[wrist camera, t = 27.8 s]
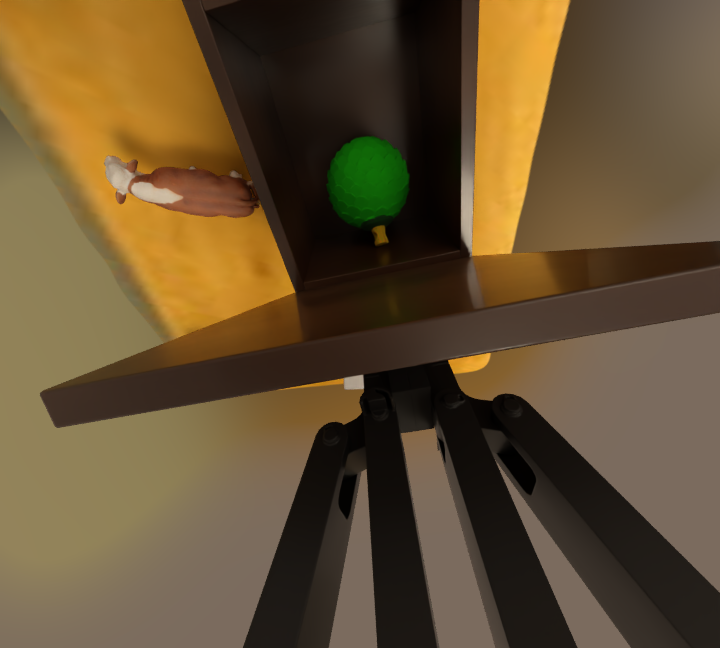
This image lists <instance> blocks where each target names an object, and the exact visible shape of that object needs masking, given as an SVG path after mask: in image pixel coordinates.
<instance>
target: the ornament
mask: <svg viewBox="0 0 720 648" xmlns="http://www.w3.org/2000/svg"><path fill="white" fill-rule="evenodd" d="M327 177H328V183H329V184H326V186H327V191H328V193H329V195H330V197H328V198H329V201H330V202H331V204H332V205H333V209H334V210H335V211H336V212H337V214H338V215H339V217H340V218H341V219H343V220H344V221H345V222H347V223H348V224H350V225H352V226H355V227H358V228H361V229H362V230H364V231H372V233H373V235H374V237H375V246H382V245H385V244H387V243H388V239H387V236H386V234H385V227H387V226H388V225H389V224H391V222H392V221H393V218H394V217H396V216H397V215H398V214H399V213H400V210H401V208H402V207H403V206H404V204H405V203H406V202H405V201H406V198H407V195H408V193H409V190H410V188H408V187H409V185H408V184H409V178H410V174H407V165H406V161H405V160H402V157H401V153H400V152H399V150H398V149H397V148H395V149H394V148H393V146H392V144H390V143H389V142H388V141H387V140H385V139H384V140H383V141H382V140H381V139H380V138H377V137H374V136H371V137H369V136H366V137H359V138H355V139H353V140H351V142H350V143H348V142H347V143H346V144H344V145H343V147H342V148H341V150H340V151H338V152H337V153H336V156H335V158H333V159H332V161H331V165H330V170H328V174H327Z"/></svg>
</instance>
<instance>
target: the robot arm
mask: <svg viewBox="0 0 720 648" xmlns="http://www.w3.org/2000/svg"><path fill="white" fill-rule="evenodd" d="M363 382H364V393H363V394H362V396H361V397H360V402H359V403H360V406H361V409H362V413H361V415H360V416H358V417H357V418H356V419H355V420H353V421H351V422H349V423H347V424H345V425H343V424H342V423H338V422H331V423H328V424H326V425H324V426H323V427H322V428H321V429H320V430H319V431H318V433H317V435H316V437H315V440H314V443H313V446H312V448H311V451H310V454H309V457H308V460H307V463H306V466H305V469H304V472H303V475H302V477H301V481H300V484H299V486H298V489H297V492H296V495H295V498H294V501H293V504H292V507H291V509H290V512H289V515H288V518H287V521H286V524H285V527H284V530H283V533H282V536H281V539H280V542H279V544H278V547H277V550H276V553H275V556H274V559H273V562H272V565H271V568H270V571H269V574H268V576H267V579H266V582H265V585H264V588H263V591H262V594H261V597H260V600H259V603H258V605H257V608H256V611H255V614H254V617H253V620H252V623H251V626H250V629H249V632H248V635H247V637H246V640H245V643H244V646H243V648H328V647H329V643H330V637H331V632H332V627H333V621H334V616H335V610H336V605H337V600H338V595H339V589H340V583H341V578H342V572H343V567H344V562H345V557H346V552H347V546H348V541H349V535H350V530H351V524H352V519H353V514H354V508H355V503H356V498H357V493H358V487H359V482H360V476H361V472H362V471H363V470H365V469H367V480H368V481H367V482H368V498H369V514H370V531H371V547H372V564H373V581H374V598H375V615H376V632H377V648H439V644H438V638H437V632H436V627H435V621H434V616H433V610H432V604H431V599H430V593H429V587H428V582H427V576H426V571H425V565H424V560H423V554H422V548H421V542H420V537H419V532H418V526H417V520H416V514H415V509H414V503H413V498H412V492H411V486H410V481H409V475H408V470H407V464H406V459H405V453H404V447H403V442H402V438H401V433H406V432H413V431H419V430H426V429H432V428H434V427H435V430H436V433H437V445H438V450H440V453H441V456H442V460H443V463H444V467H445V470H446V474H447V477H448V481H449V485H450V488H451V491H452V495H453V499H454V502H455V506H456V509H457V513H458V517H459V520H460V523H461V527H462V531H463V534H464V537H465V541H466V545H467V548H468V552H469V555H470V559H471V563H472V566H473V570H474V573H475V577H476V580H477V584H478V587H479V590H480V594H481V598H482V601H483V605H484V609H485V612H486V616H487V619H488V623H489V626H490V630H491V633H492V637H493V641H494V644H495V648H577V646H576V643H575V641H574V639H573V637H572V634H571V632H570V630H569V628H568V625H567V623H566V621H565V618H564V616H563V614H562V612H561V609H560V607H559V605H558V603H557V600H556V598H555V596H554V593H553V591H552V589H551V586H550V584H549V582H548V580H547V577H546V575H545V573H544V570H543V568H542V566H541V564H540V561H539V559H538V557H537V555H536V553H535V550H534V548H533V546H532V543H531V541H530V539H529V536H528V534H527V532H526V529H525V527H524V525H523V523H522V520H521V518H520V516H519V514H518V512H517V509H516V507H515V505H514V502H513V500H512V498H511V495H510V493H509V491H508V488H507V486H506V484H505V482H504V479H503V477H502V475H501V473H500V470H499V468H498V466H497V464H496V461H497V463H498V464H499V465H500V467H501V468H502V470H503V471H504V472H505V474H506V475H507V477H508V478H509V479H510V481H511V482H512V483H513V485H514V486H515V487H516V489H517V490H518V492H519V493H520V494H521V496H522V497H523V498H524V500H525V501H526V503H527V504H528V506H529V507H530V508H531V510H532V511H533V513H534V514H535V515H536V517H537V518H538V519H539V521H540V522H541V524H542V525H543V526H544V528H545V529H546V530H547V532H548V533H549V535H550V536H551V537H552V539H553V540H554V541H555V543H556V544H557V546H558V547H559V548H560V550H561V551H562V553H563V554H564V555H565V557H566V558H567V560H568V561H569V562H570V564H571V565H572V567H573V568H574V569H575V571H576V572H577V573H578V575H579V576H580V577H581V579H582V580H583V582H584V583H585V585H586V586H587V587H588V589H589V590H590V591H591V593H592V594H593V596H594V597H595V598H596V600H597V601H598V603H599V604H600V605H601V607H602V608H603V609H604V611H605V612H606V614H607V615H608V616H609V618H610V619H611V620H612V622H613V623H614V625H615V626H616V627H617V629H618V630H619V632H620V633H621V634H622V636H623V637H624V639H625V640H626V641H627V643H628V644H629V645H630V647H631V648H720V593H719V592H718V591H717V590H716V589H715V588H714V587H713V586H712V585H711V584H710V583H709V582H708V581H707V580H706V579H705V578H704V577H703V576H702V575H701V574H700V573H699V572H698V571H697V570H696V569H695V568H694V567H693V566H692V565H691V564H690V563H689V562H688V561H687V560H686V559H685V558H684V557H683V556H682V555H681V554H680V553H679V552H678V551H677V550H676V549H675V548H674V547H673V546H672V545H671V544H670V543H669V542H668V541H667V540H666V539H665V538H664V537H663V536H662V535H661V534H660V533H659V532H658V531H657V530H656V529H655V528H654V527H653V526H652V525H651V524H650V523H649V522H648V521H647V520H646V519H645V518H644V517H643V516H642V515H641V514H640V513H639V512H638V511H637V510H635V508H634V507H633V506H632V505H631V504H630V503H629V502H628V501H627V500H626V499H625V498H624V497H622V495H621V494H620V493H619V492H617V490H616V489H614V487H612V486H611V485H610V484H609V483H608V482H607V481H606V480H605V479H604V478H603V477H602V476H601V475H600V474H599V473H598V472H597V471H596V470H595V469H594V468H593V467H592V466H591V465H590V464H589V463H588V462H587V461H586V460H585V459H584V458H583V457H582V456H581V455H580V454H579V453H578V452H577V451H576V450H575V449H574V448H573V447H572V446H571V445H570V444H569V443H568V442H567V441H566V440H565V439H564V438H563V437H562V436H561V435H560V434H559V433H558V432H557V431H556V430H555V429H554V428H553V427H552V426H551V425H550V424H549V423H548V422H547V421H546V420H545V419H544V418H543V417H542V416H541V415H540V414H539V413H538V412H537V411H536V410H535V409H534V408H533V407H532V406H531V405H530V404H529V403H528V402H527V401H525V400H524V399H523V398H521V397H519V396H516V395H514V394H501V395H498V396H497V397H495V398H494V399H493V401H488V400H479V399H474V398H472V397H469V396H468V395H466V394H464V392H463V391H461V389H460V387H459V386H458V383H457V381H456V379H455V376H454V374H453V371H452V369H451V367H450V364H449V362H448V360H445V361H439V362H433V363H428V364H422V365H416V366H411V367H405V368H399V369H393V370H388V371H382V372H376V373H370V374H365V375H363ZM495 460H496V461H495Z"/></svg>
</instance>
